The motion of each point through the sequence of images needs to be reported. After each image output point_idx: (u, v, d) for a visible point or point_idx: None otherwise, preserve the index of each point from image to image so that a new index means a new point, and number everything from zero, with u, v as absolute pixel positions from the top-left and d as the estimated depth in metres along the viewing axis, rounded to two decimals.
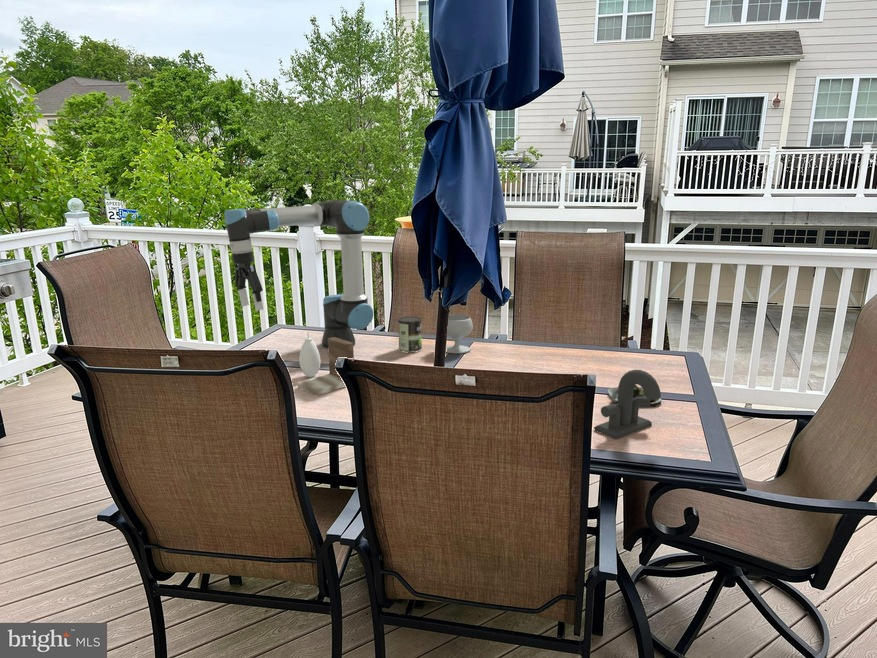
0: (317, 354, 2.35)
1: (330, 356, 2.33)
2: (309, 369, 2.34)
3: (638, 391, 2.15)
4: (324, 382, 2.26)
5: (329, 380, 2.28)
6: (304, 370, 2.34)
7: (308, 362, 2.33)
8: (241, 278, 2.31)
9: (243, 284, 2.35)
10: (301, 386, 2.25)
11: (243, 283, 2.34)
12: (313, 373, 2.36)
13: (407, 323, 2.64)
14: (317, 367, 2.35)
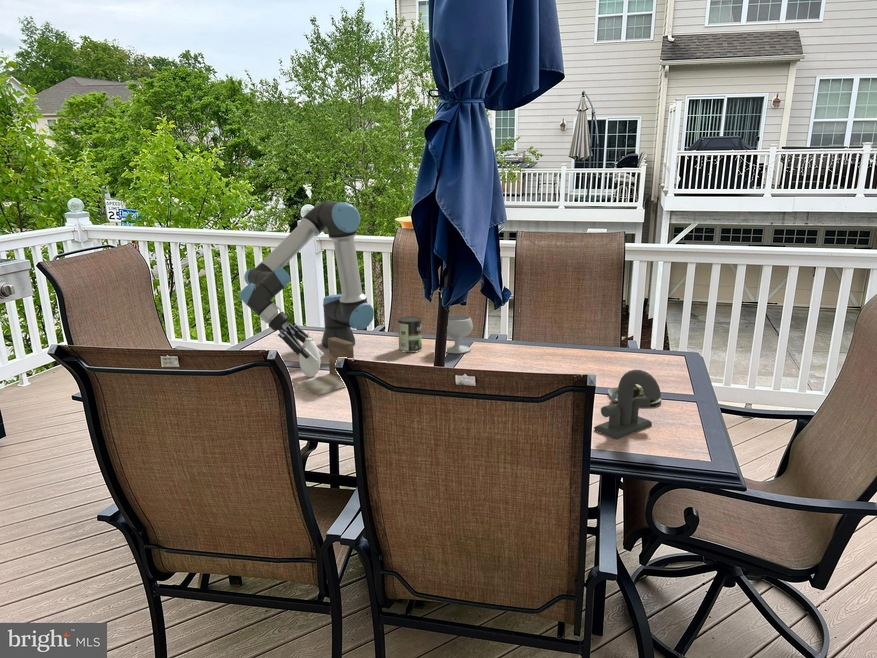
0: (317, 354, 2.35)
1: (330, 356, 2.33)
2: (309, 369, 2.34)
3: (638, 391, 2.15)
4: (324, 382, 2.26)
5: (329, 380, 2.28)
6: (304, 370, 2.34)
7: (308, 361, 2.33)
8: (296, 336, 2.37)
9: None
10: (301, 386, 2.25)
11: (304, 339, 2.39)
12: (313, 373, 2.36)
13: (407, 323, 2.64)
14: (317, 367, 2.35)
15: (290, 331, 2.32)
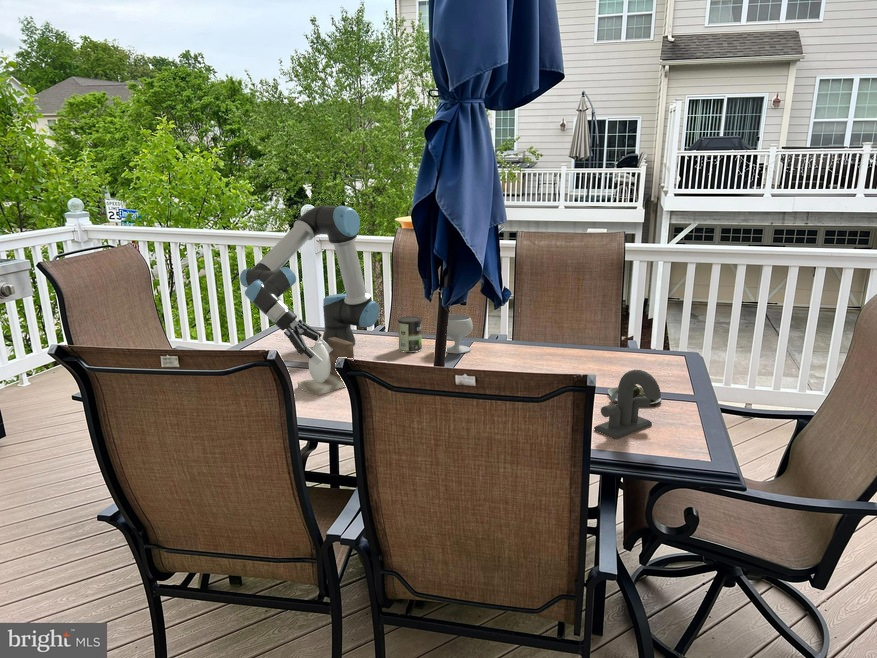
0: (327, 358, 2.23)
1: (330, 356, 2.33)
2: (319, 374, 2.22)
3: (638, 391, 2.15)
4: (324, 382, 2.26)
5: (329, 380, 2.28)
6: (313, 375, 2.23)
7: (318, 366, 2.21)
8: (304, 334, 2.26)
9: (314, 336, 2.28)
10: (301, 386, 2.25)
11: (313, 335, 2.28)
12: (323, 378, 2.24)
13: (407, 323, 2.64)
14: (327, 372, 2.23)
15: (297, 330, 2.19)
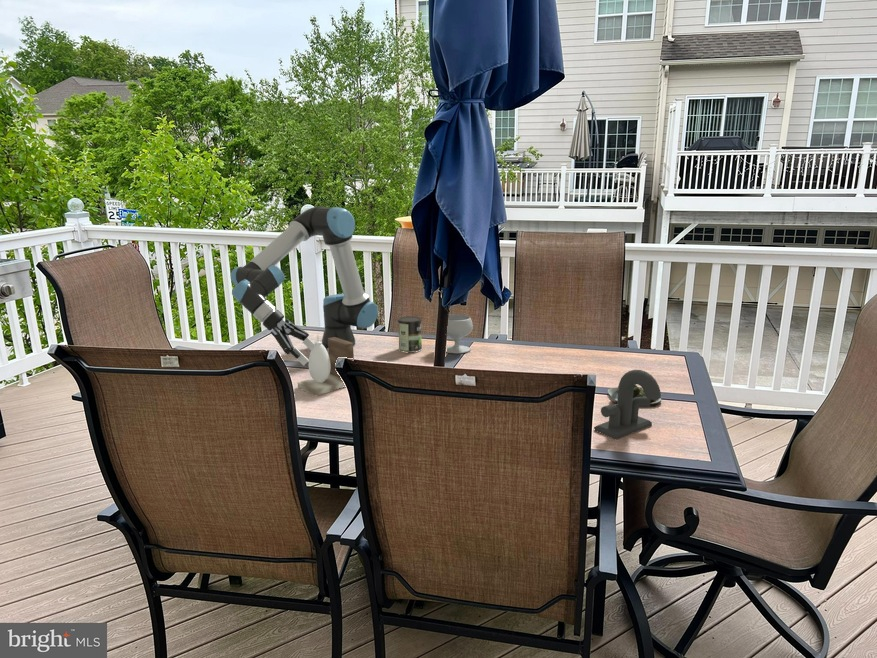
0: (327, 358, 2.23)
1: (330, 356, 2.33)
2: (318, 374, 2.22)
3: (638, 391, 2.15)
4: (324, 382, 2.26)
5: (329, 380, 2.28)
6: (313, 375, 2.23)
7: (318, 366, 2.21)
8: (292, 334, 2.26)
9: (301, 335, 2.28)
10: (301, 386, 2.25)
11: (300, 335, 2.28)
12: (323, 378, 2.24)
13: (407, 323, 2.64)
14: (327, 372, 2.23)
15: (284, 330, 2.19)
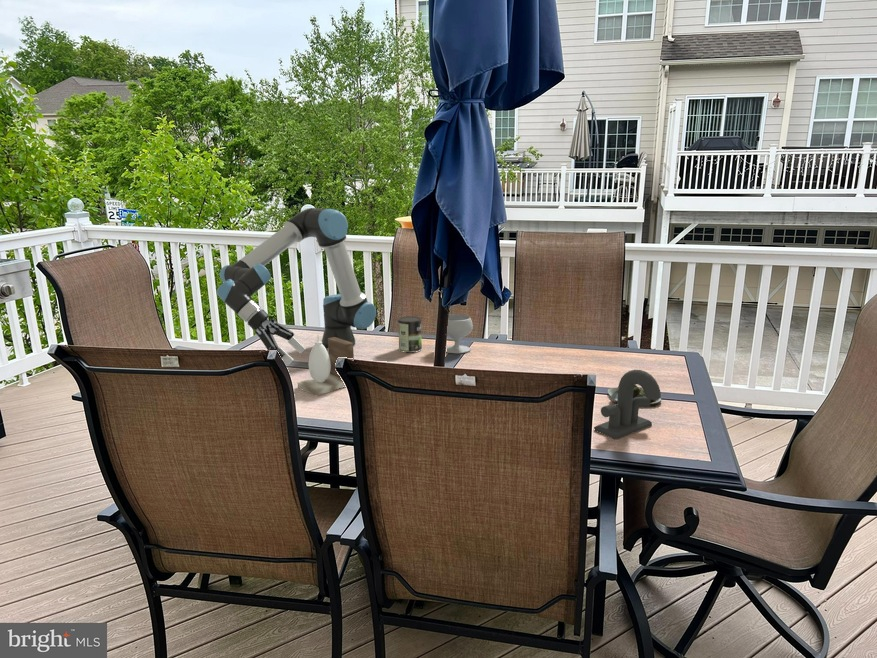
0: (327, 358, 2.23)
1: (330, 356, 2.33)
2: (318, 374, 2.22)
3: (638, 391, 2.15)
4: (324, 382, 2.26)
5: (329, 380, 2.28)
6: (313, 375, 2.23)
7: (318, 366, 2.21)
8: (277, 333, 2.27)
9: (286, 335, 2.29)
10: (301, 386, 2.25)
11: (285, 334, 2.29)
12: (323, 378, 2.24)
13: (407, 323, 2.64)
14: (327, 372, 2.23)
15: (269, 329, 2.20)
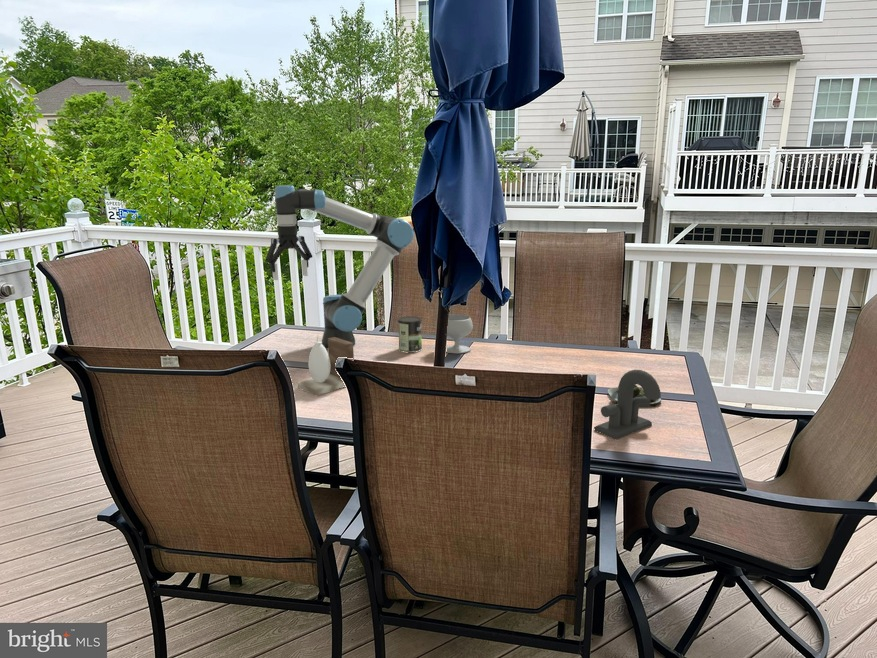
0: (327, 358, 2.23)
1: (330, 356, 2.33)
2: (318, 374, 2.22)
3: (638, 391, 2.15)
4: (324, 382, 2.26)
5: (329, 380, 2.28)
6: (313, 375, 2.22)
7: (318, 366, 2.21)
8: (295, 249, 2.52)
9: (302, 255, 2.53)
10: (301, 386, 2.25)
11: (301, 254, 2.53)
12: (323, 378, 2.24)
13: (407, 323, 2.64)
14: (327, 372, 2.23)
15: (283, 245, 2.45)
